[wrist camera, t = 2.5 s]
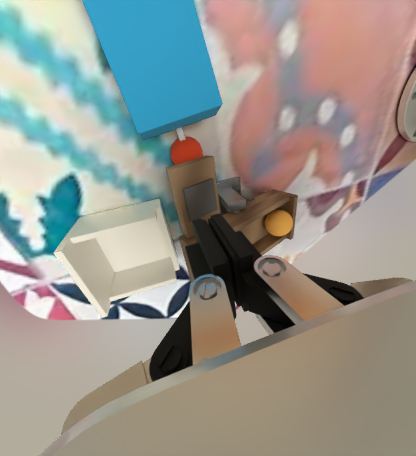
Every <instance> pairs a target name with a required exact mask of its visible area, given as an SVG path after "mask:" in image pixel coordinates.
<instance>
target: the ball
mask: <svg viewBox="0 0 416 456" xmlns="http://www.w3.org/2000/svg"><path fill="white" fill-rule="evenodd" d="M292 226H293V220H292V217H291V215H290V214H289V213H287V212H286V211H283V210H275V211H272V212H270V213H269V214H268V215H267V217H266V219H265V227H266V229H267V231H268V232H269V233H270V234H272V235H274V236H283V235H286V234H287V233H289V232H290V230H291V229H292Z"/></svg>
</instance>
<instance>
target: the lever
mask: <svg viewBox="0 0 416 456" xmlns="http://www.w3.org/2000/svg"><path fill="white" fill-rule="evenodd" d="M82 1H83V3H84V5H85V8H86V10H87V12H88V15H89V17H90V20H91V22H92V24H93V27H94V29H95V32H96V34H97V36H98V39H99V41H100V44H101V46H102V48H103V51H104V53H105V55H106V58H107V60H108V63H109V65H110V67H111V70H112V72H113V75H114V77H115V79H116V82H117V84H118V87H119V89H120V91H121V94H122V96H123V98H124V101H125V103H126V106H127V108H128V110H129V113H130V115H131V118H132V120H133V122H134V125H135V127H136V130H137V132H138V134H139V135H140V136H141V137H142V139H143V140H146V139H149V138H151V137H154V136H157V135H160V134H163V133H166V132H169V131H172V130H174V129H175V130H176V133H177V136H178V139H177V140H176V141H175V142H174V143H173V145H172V147H171V159H172V161H173V163H174V164H175V165H178V164H181V163H184V162H187V161H191V160H194V159H197V158H200V157H203V153H202V148H201V146H200V144H199V143H198V142H197V141H196V140H195V139H193V138H191V137H185V136H184V132H183V129H182V127H183V126H186V125H189V124H192V123H194V122H197V121H200V120H203V119H206V118H209V117H212V116H215V115H216V114H217V112H218V110H219V109H220V107H221V105H222V100H221V97H220V93H219V90H218V86H217V83H216V79H215V76H214V72H213V68H212V65H211V61H210V58H209V54H208V51H207V47H206V44H205V40H204V37H203V33H202V30H201V26H200V23H199V19H198V16H197V12H196V9H195V5H194V2H193V0H82Z"/></svg>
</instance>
